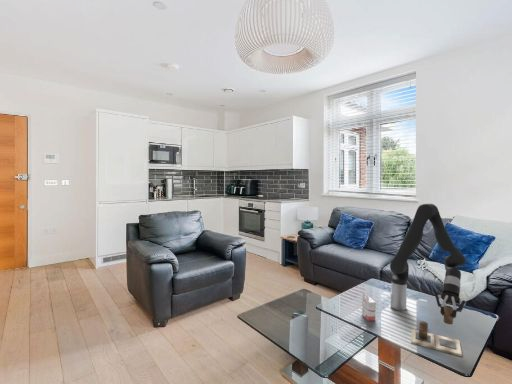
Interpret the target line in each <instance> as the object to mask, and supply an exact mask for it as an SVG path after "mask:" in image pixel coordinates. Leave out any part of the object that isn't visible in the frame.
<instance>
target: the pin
mask: <svg viewBox="0 0 512 384" xmlns="http://www.w3.org/2000/svg"><path fill="white" fill-rule="evenodd" d="M428 325H429V323H428V322H427V321H424V320H419V321H418V330H419V337H420V338H422V339H427V334H428V333H429V332H428V331H429V329H428Z"/></svg>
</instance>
